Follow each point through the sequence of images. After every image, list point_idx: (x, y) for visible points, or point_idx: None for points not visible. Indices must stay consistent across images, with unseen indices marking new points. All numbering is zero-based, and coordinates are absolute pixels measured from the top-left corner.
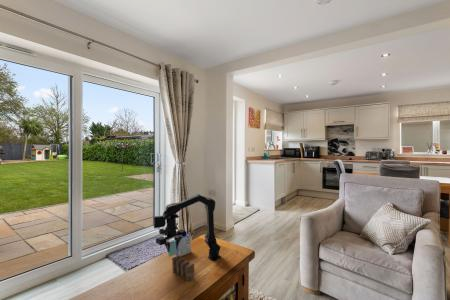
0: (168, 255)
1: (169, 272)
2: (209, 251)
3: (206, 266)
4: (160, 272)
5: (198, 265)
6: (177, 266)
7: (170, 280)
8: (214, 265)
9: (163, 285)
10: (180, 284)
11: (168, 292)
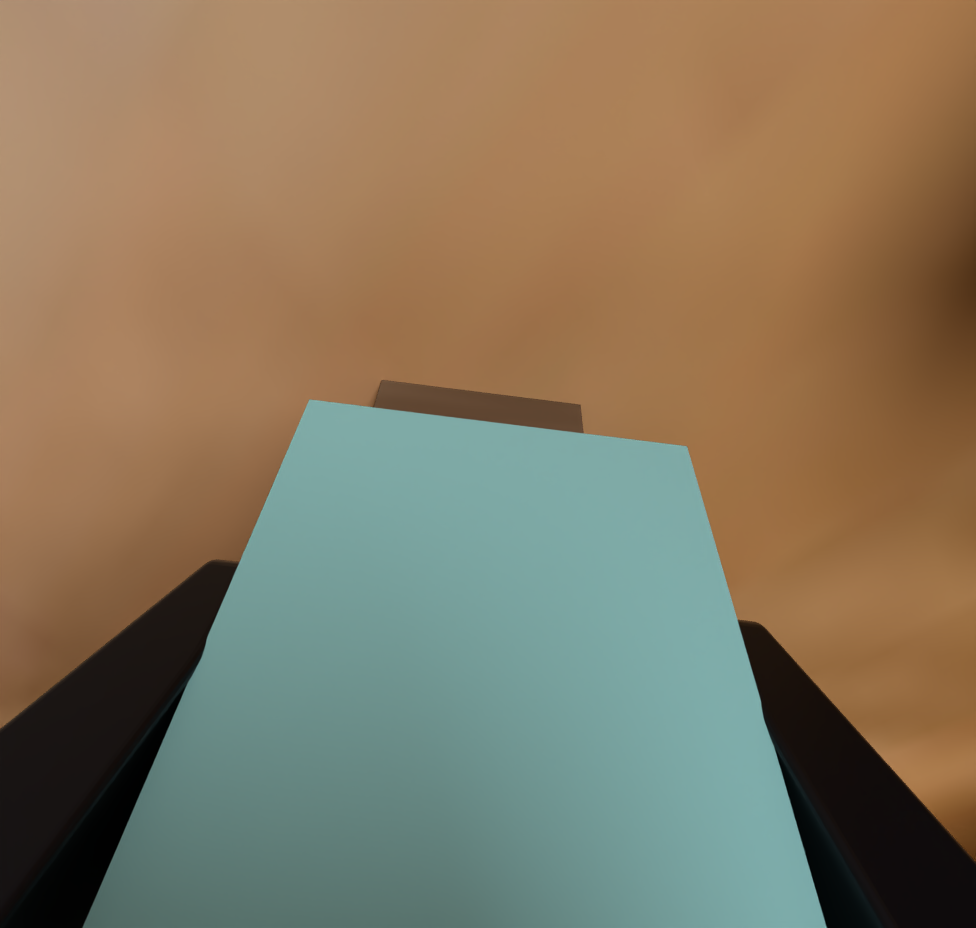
0: (301, 434)
1: (310, 345)
2: None
3: (875, 736)
4: (131, 140)
5: (858, 633)
6: None
7: (177, 554)
8: (950, 798)
9: (9, 559)
10: None
11: (19, 705)
